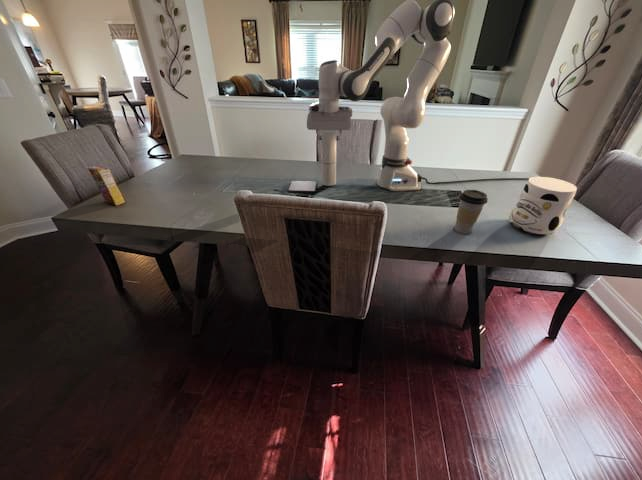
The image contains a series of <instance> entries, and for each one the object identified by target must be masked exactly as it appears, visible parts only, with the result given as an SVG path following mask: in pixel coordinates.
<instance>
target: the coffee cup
mask: <svg viewBox="0 0 642 480" xmlns="http://www.w3.org/2000/svg"><path fill="white" fill-rule="evenodd" d="M459 199H460V202H459V203H458V209H457V212H456V213H457V214H456V219H455V220H456V221H455V226H454V231H455V232H456V233H458V234H459V233H460V234H463V235H468V234H470V233H471V231H472V230H473V227H474V225H475V224H476V222H477V220H478V219H479V216H480V214H481V213H482V210H483V208H484V206H485V204H487V203H488V201H489V200H488V195H487V194H486V193H485V192H483V191H480V190H476V189H465V190H463V192H462V193H461V194H460V195H459Z"/></svg>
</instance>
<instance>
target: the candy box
mask: <svg viewBox="0 0 642 480" xmlns="http://www.w3.org/2000/svg"><path fill="white" fill-rule="evenodd" d="M87 170H88V172H89V173H90V176H91V177H92V179H93V181H94V183H95V185H96V187H97V188H98V190H99V193H100V194H101V196H102V198H103V200H104V201H105V202H107V203H109V204H111V205H114V206H119V205H122V204H125V203H126V202H125V200H124V197H123V196H122V193H121V191H120V189H119V187H118V185H117V183H116V181H115V178H114V176H113V174H112V172H111V169H110V168H106V167H103V166H100V165H93V166H90V167H87Z"/></svg>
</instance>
